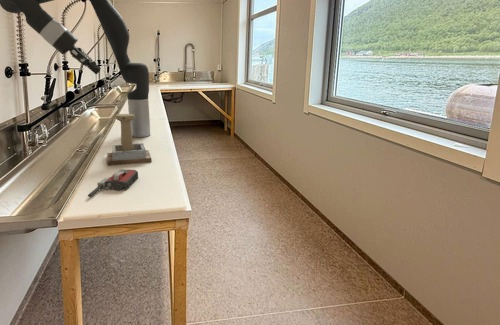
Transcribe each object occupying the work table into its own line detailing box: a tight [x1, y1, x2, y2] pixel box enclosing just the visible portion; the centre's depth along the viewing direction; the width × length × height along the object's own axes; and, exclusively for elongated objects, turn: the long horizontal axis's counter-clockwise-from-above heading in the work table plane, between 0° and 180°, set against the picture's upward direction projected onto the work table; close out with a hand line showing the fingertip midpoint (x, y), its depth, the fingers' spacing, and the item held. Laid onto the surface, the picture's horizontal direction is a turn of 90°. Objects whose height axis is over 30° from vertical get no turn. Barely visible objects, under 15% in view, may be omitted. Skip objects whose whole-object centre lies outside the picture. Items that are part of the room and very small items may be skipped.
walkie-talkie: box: [87, 169, 139, 198], centre depth 112 cm, size 9×4×20 cm
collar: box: [111, 142, 147, 161], centre depth 139 cm, size 11×11×3 cm
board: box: [106, 149, 153, 166], centre depth 140 cm, size 12×15×2 cm
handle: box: [115, 113, 134, 151], centre depth 138 cm, size 5×6×15 cm
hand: (98, 71), depth 135 cm, fingers open, 8 cm apart
